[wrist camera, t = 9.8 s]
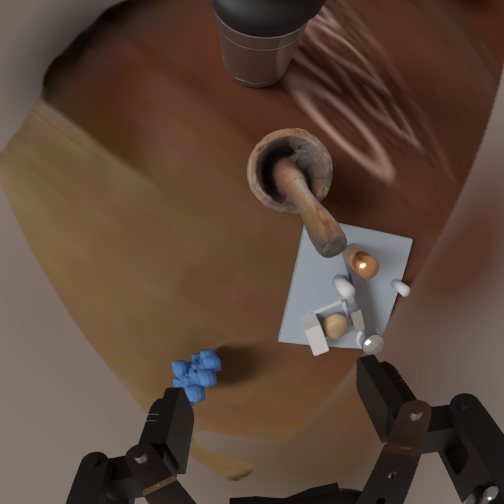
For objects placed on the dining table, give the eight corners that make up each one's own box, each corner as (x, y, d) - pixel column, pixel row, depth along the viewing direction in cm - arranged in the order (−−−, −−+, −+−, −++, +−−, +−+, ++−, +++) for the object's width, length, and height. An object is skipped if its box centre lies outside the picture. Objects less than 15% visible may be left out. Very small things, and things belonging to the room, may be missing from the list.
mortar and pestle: (332, 189, 42) (399, 204, 23) (290, 229, 43) (326, 275, 24) (277, 129, 40) (306, 94, 20) (233, 171, 41) (224, 169, 22)
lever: (379, 342, 47) (398, 368, 39) (356, 352, 47) (373, 380, 39) (356, 238, 42) (379, 252, 34) (329, 248, 42) (347, 265, 35)
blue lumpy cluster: (200, 319, 47) (188, 363, 35) (232, 344, 48) (230, 391, 36) (160, 361, 49) (142, 406, 37) (191, 382, 50) (180, 430, 38)
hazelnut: (323, 307, 45) (329, 318, 42) (346, 309, 46) (354, 321, 42) (316, 329, 46) (322, 342, 43) (339, 331, 47) (346, 344, 43)
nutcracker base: (305, 215, 43) (315, 222, 37) (409, 237, 44) (428, 246, 38) (278, 337, 48) (282, 358, 42) (374, 345, 49) (387, 364, 43)
